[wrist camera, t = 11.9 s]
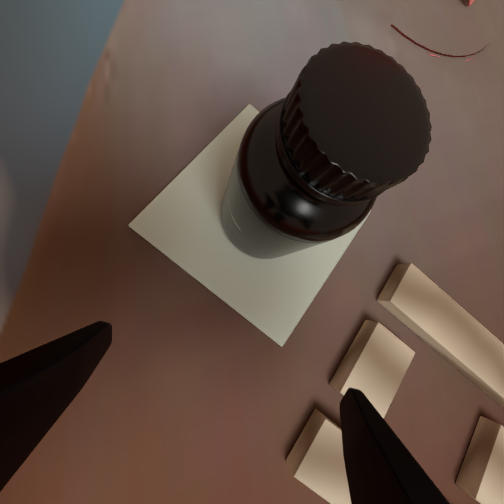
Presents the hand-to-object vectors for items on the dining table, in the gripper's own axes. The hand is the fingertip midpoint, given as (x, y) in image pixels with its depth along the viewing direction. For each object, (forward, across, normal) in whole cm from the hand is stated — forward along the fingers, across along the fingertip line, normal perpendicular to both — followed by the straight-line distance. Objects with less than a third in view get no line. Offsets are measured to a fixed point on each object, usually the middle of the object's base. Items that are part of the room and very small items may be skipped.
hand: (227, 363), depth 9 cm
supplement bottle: (+12, 0, -2) cm, 12 cm away
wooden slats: (+8, -17, +9) cm, 21 cm away
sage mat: (+12, 0, -2) cm, 13 cm away
